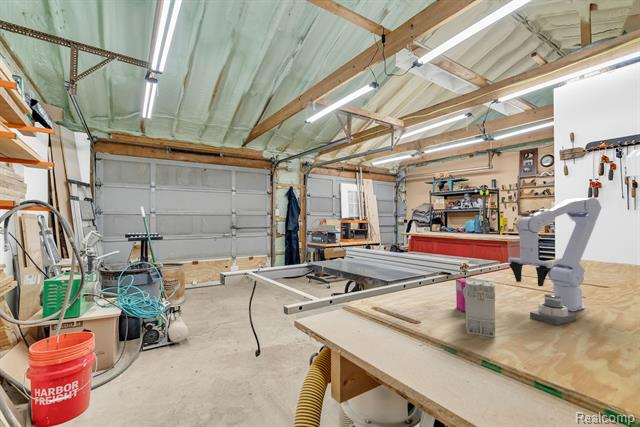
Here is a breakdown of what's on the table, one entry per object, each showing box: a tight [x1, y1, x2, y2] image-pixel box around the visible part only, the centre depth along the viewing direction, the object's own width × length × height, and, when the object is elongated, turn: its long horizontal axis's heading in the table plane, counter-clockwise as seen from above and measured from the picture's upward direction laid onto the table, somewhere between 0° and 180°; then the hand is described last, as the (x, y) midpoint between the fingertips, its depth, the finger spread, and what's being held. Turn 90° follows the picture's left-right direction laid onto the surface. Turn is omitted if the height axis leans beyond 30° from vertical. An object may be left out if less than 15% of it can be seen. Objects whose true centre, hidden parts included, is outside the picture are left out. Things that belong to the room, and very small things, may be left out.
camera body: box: [529, 302, 577, 326], centre depth 99 cm, size 12×8×4 cm, turn 115°
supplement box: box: [455, 278, 466, 313], centre depth 108 cm, size 6×6×12 cm
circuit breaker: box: [464, 278, 496, 338], centre depth 92 cm, size 8×14×15 cm, turn 155°
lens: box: [543, 293, 561, 309], centre depth 99 cm, size 4×4×6 cm
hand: (529, 283), depth 109 cm, fingers open, 7 cm apart
